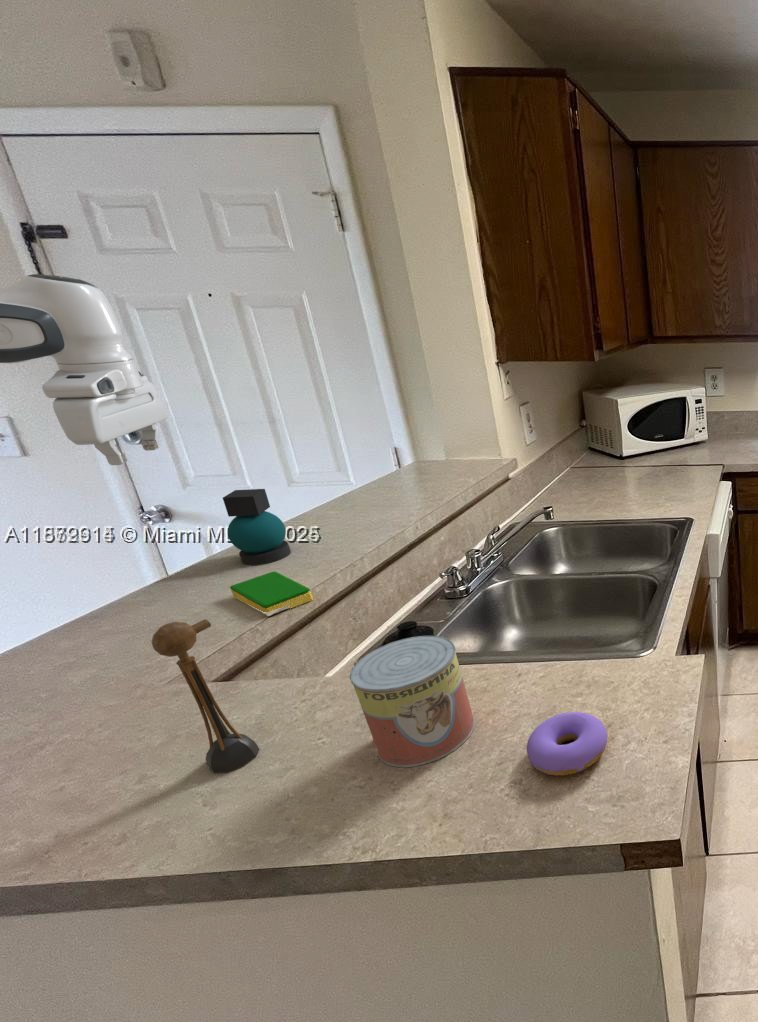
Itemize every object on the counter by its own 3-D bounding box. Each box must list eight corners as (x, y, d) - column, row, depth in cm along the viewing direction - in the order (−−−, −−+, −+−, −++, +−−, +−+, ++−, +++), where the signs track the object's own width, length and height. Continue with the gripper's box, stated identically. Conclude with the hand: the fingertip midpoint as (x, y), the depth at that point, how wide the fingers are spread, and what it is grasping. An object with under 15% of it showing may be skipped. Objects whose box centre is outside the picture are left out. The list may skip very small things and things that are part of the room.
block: (228, 516, 121) (222, 497, 120) (241, 508, 126) (235, 489, 124) (259, 515, 123) (253, 496, 121) (270, 506, 127) (264, 488, 126)
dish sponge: (268, 617, 107) (263, 605, 106) (233, 597, 113) (228, 585, 112) (314, 600, 112) (310, 588, 111) (278, 581, 119) (274, 570, 118)
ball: (230, 568, 123) (210, 522, 119) (251, 550, 131) (233, 506, 127) (283, 563, 126) (265, 517, 121) (301, 545, 133) (285, 501, 129)
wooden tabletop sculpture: (247, 736, 80) (185, 606, 72) (276, 742, 80) (216, 610, 71) (199, 770, 75) (126, 633, 67) (229, 776, 74) (159, 638, 66)
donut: (626, 738, 80) (616, 714, 77) (577, 798, 74) (564, 775, 71) (569, 714, 84) (558, 691, 81) (518, 770, 78) (504, 746, 75)
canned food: (392, 782, 74) (363, 703, 69) (367, 735, 81) (339, 661, 76) (488, 734, 81) (468, 660, 76) (457, 695, 88) (437, 625, 83)
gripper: (120, 369, 112) (150, 442, 118) (32, 389, 94) (72, 474, 100) (163, 368, 114) (190, 440, 120) (85, 388, 96) (121, 471, 102)
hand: (136, 456), depth 110 cm, fingers open, 8 cm apart
